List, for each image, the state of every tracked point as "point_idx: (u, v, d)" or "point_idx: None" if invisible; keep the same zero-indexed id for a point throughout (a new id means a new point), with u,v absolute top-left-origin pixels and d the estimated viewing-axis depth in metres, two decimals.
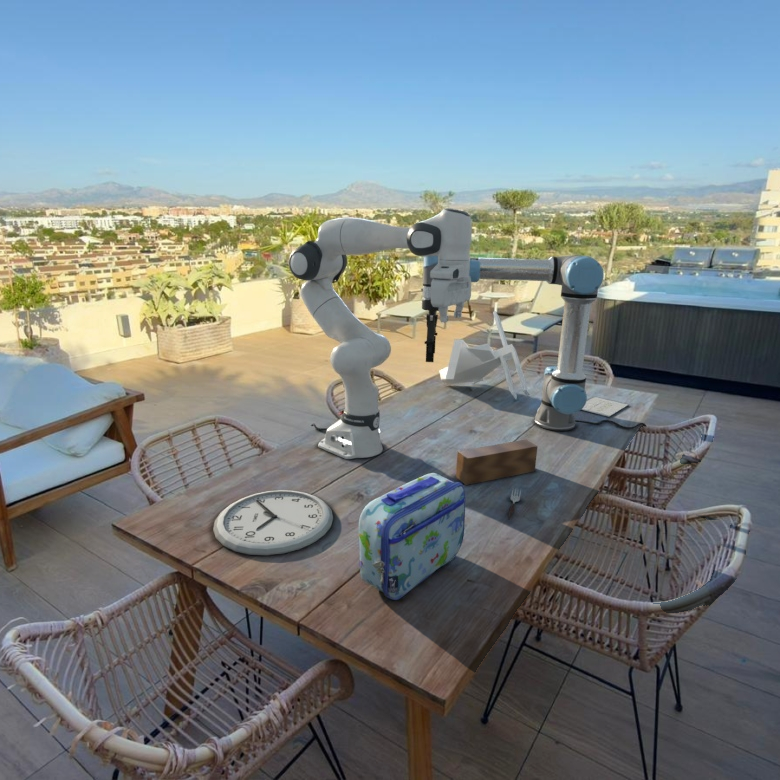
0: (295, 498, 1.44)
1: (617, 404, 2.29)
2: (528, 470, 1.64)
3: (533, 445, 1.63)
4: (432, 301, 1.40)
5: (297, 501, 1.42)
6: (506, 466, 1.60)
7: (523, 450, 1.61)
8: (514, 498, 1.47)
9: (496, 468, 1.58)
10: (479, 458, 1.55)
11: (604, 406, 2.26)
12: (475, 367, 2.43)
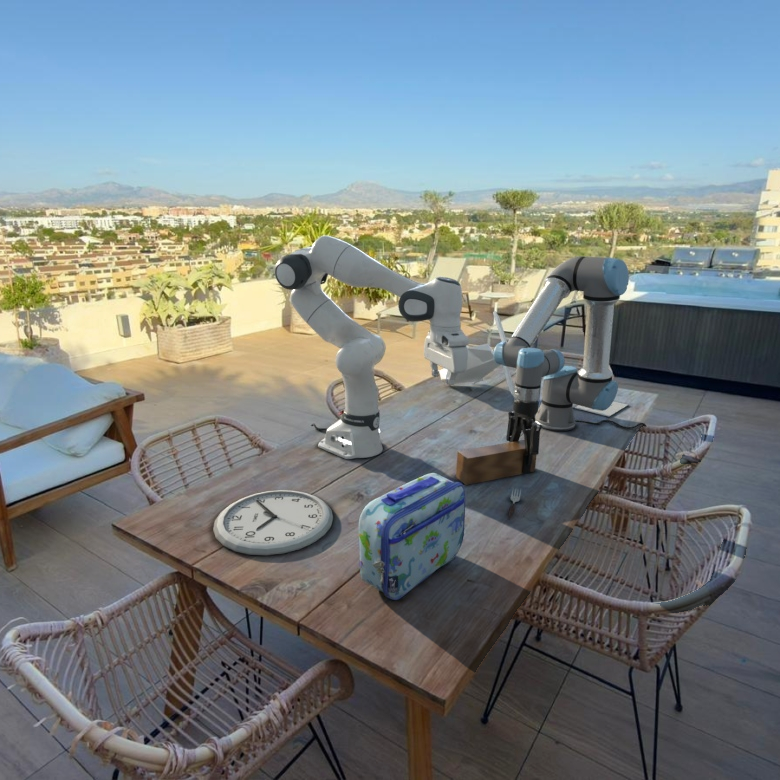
0: (295, 498, 1.44)
1: (617, 404, 2.29)
2: None
3: None
4: (457, 368, 1.45)
5: (297, 501, 1.42)
6: (506, 466, 1.60)
7: (523, 450, 1.60)
8: (514, 498, 1.47)
9: (496, 468, 1.58)
10: (479, 458, 1.55)
11: None
12: (475, 367, 2.43)
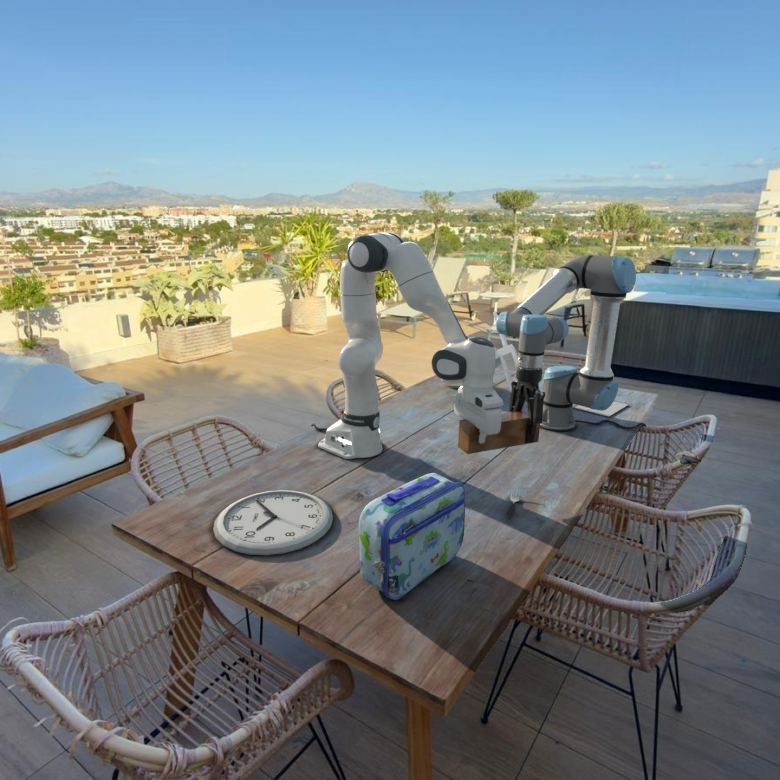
0: (295, 498, 1.44)
1: (617, 404, 2.29)
2: None
3: None
4: (491, 430, 1.44)
5: (297, 501, 1.42)
6: (509, 435, 1.57)
7: (526, 419, 1.58)
8: (514, 498, 1.47)
9: (499, 437, 1.55)
10: None
11: None
12: None
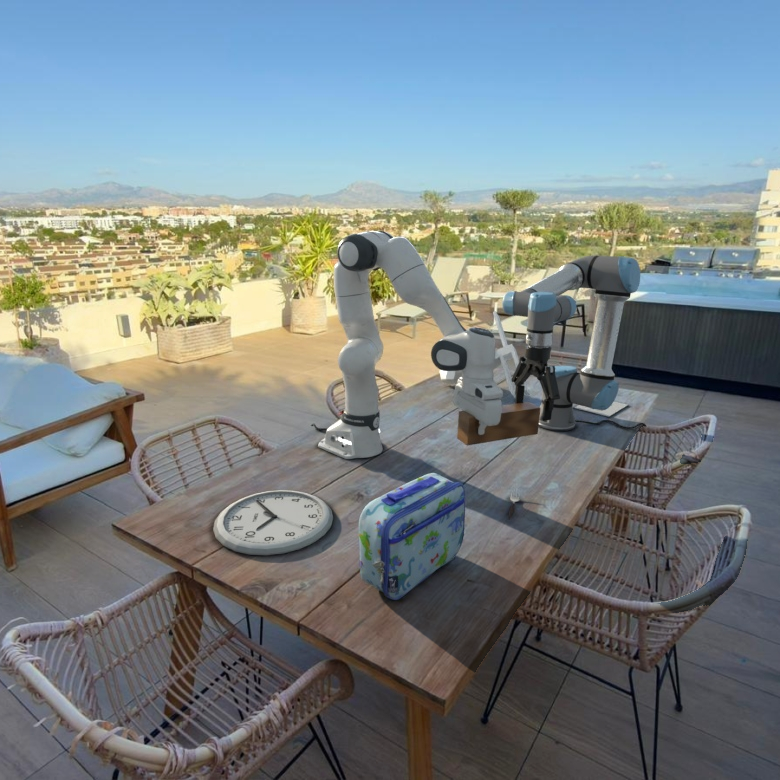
0: (295, 498, 1.44)
1: (617, 404, 2.29)
2: (531, 432, 1.60)
3: (536, 407, 1.59)
4: (491, 421, 1.43)
5: (297, 501, 1.42)
6: (509, 427, 1.56)
7: (526, 411, 1.57)
8: (514, 498, 1.47)
9: (498, 429, 1.55)
10: None
11: None
12: None
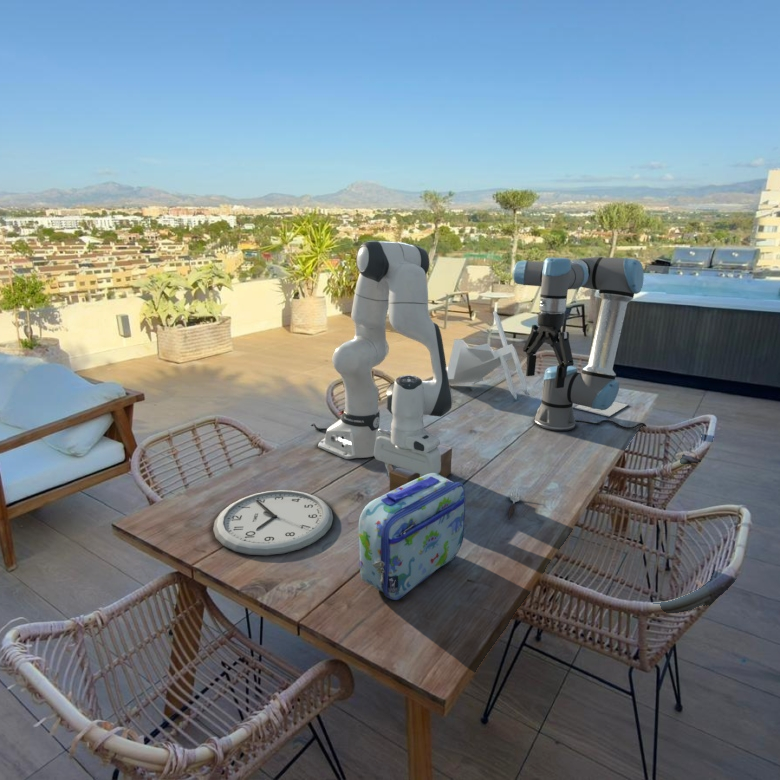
0: (295, 498, 1.44)
1: (617, 404, 2.29)
2: (446, 474, 1.60)
3: (448, 448, 1.60)
4: None
5: (297, 501, 1.42)
6: None
7: (443, 455, 1.56)
8: (514, 498, 1.47)
9: None
10: (416, 475, 1.44)
11: None
12: (475, 367, 2.43)
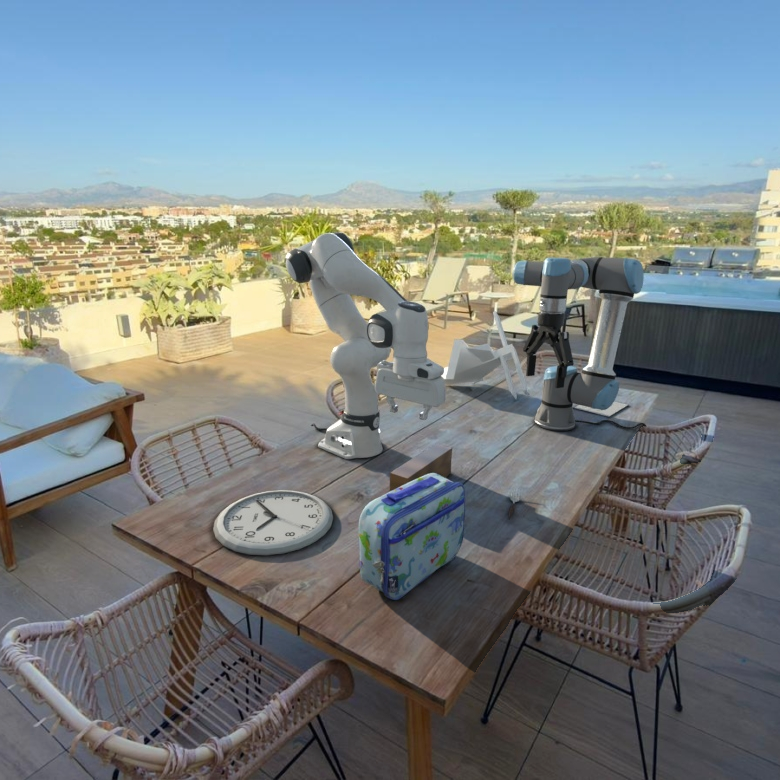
0: (295, 498, 1.44)
1: (617, 404, 2.29)
2: (446, 474, 1.60)
3: (448, 448, 1.60)
4: (439, 402, 1.32)
5: (297, 501, 1.42)
6: None
7: (443, 455, 1.56)
8: (514, 498, 1.47)
9: None
10: (416, 475, 1.44)
11: None
12: (475, 367, 2.43)
